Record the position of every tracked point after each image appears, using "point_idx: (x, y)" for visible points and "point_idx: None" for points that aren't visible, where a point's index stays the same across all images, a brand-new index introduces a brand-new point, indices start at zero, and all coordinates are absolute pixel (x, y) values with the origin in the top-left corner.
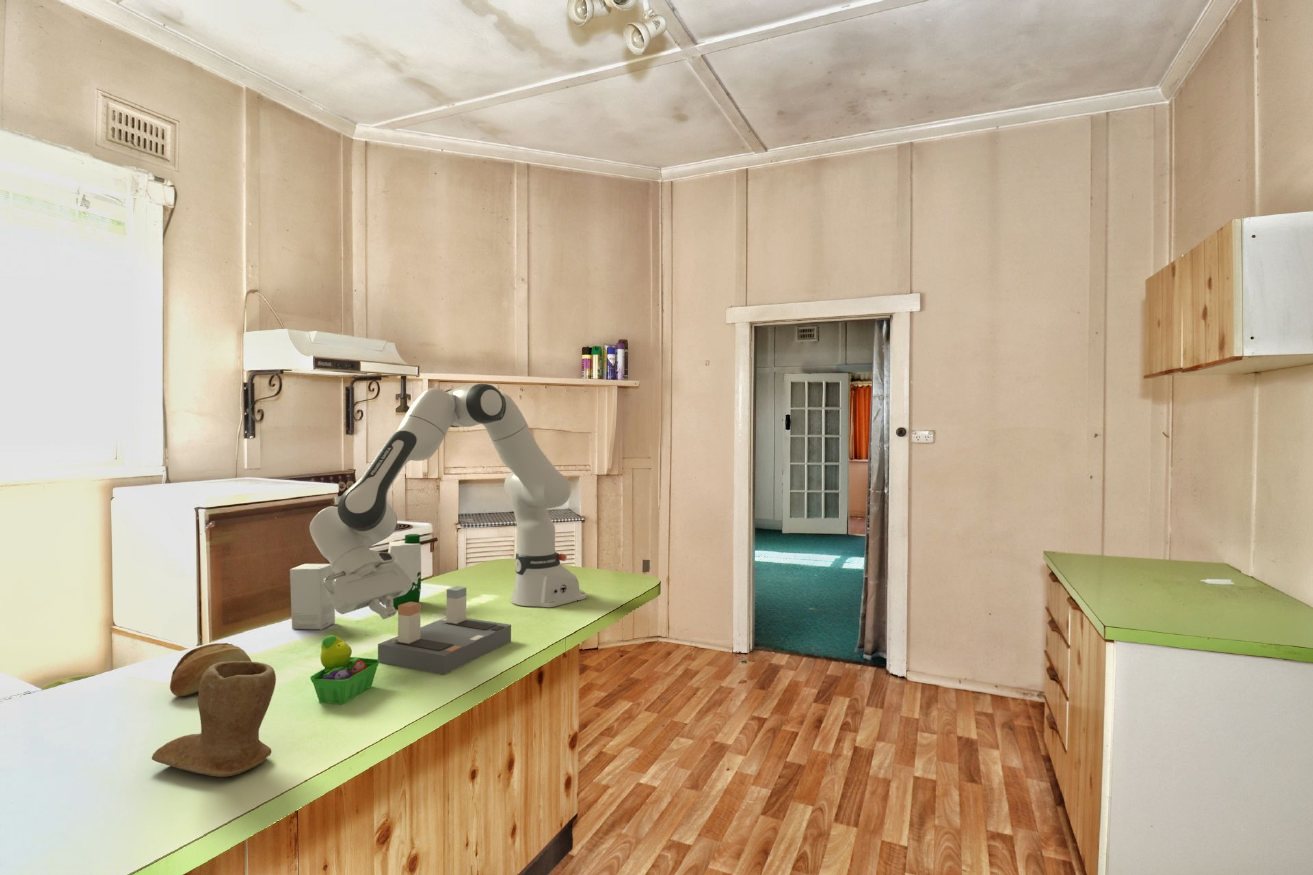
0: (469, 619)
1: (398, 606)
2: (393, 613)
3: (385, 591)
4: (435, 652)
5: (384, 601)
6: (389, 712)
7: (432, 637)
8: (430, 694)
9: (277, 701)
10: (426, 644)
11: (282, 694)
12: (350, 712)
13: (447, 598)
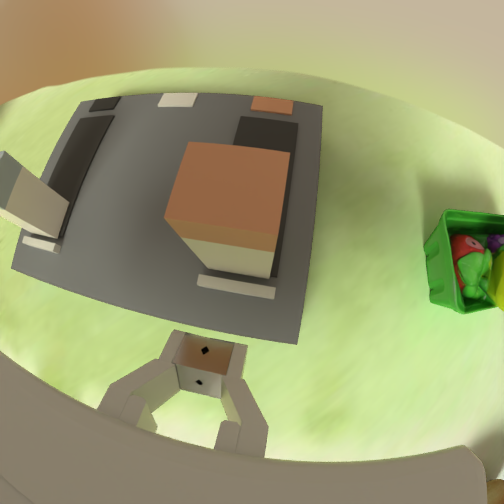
0: None
1: (277, 234)
2: (197, 336)
3: (122, 440)
4: (310, 130)
5: (149, 424)
6: (465, 158)
7: None
8: (398, 125)
9: (500, 362)
10: None
11: (482, 384)
12: (490, 213)
13: (8, 206)
